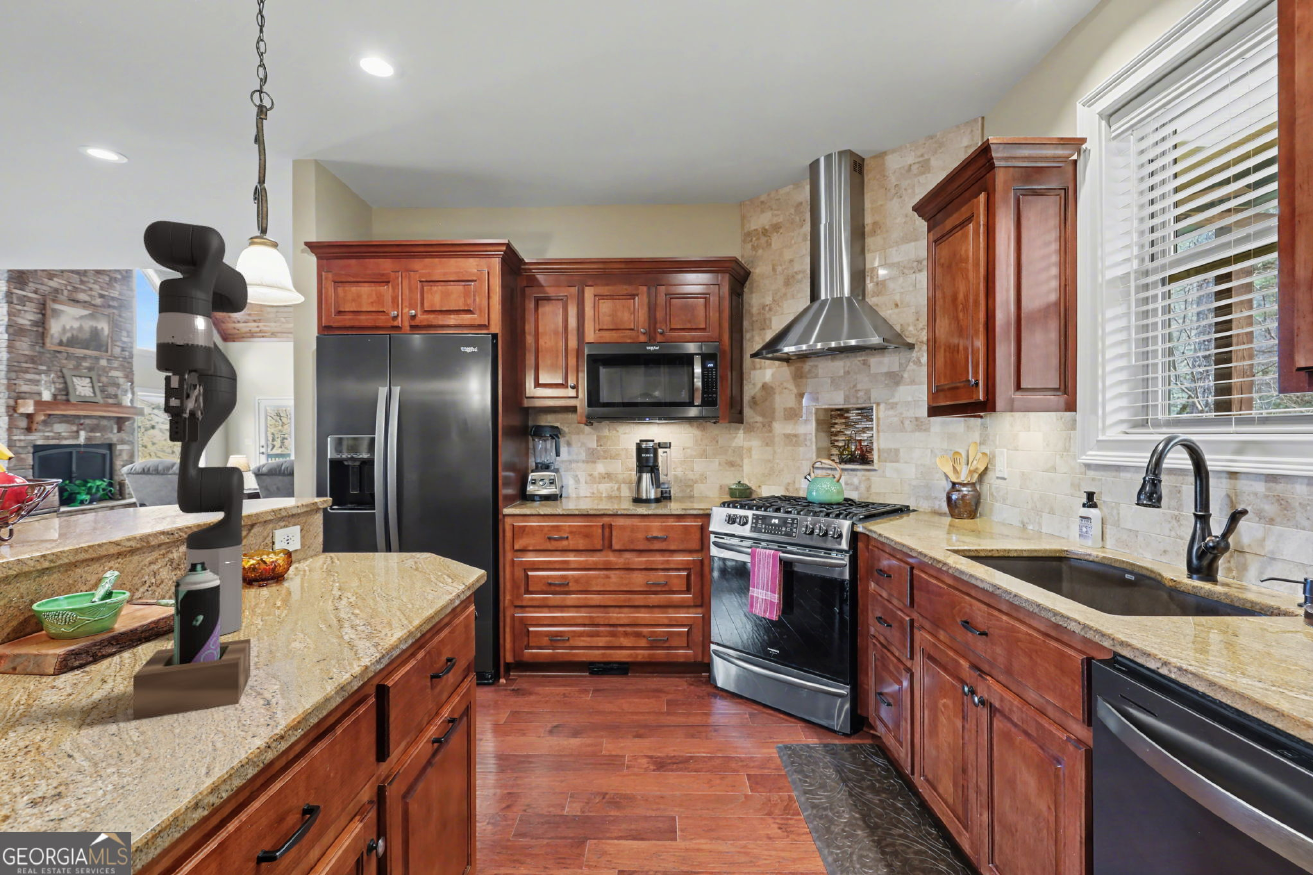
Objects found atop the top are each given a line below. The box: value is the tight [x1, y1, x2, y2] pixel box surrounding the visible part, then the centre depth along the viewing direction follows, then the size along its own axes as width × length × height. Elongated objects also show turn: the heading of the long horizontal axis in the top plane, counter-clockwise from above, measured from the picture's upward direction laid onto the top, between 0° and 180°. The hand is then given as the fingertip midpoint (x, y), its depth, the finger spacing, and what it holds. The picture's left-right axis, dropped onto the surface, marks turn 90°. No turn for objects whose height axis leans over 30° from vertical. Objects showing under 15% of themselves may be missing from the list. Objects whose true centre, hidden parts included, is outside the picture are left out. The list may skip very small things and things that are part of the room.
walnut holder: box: [132, 638, 251, 721], centre depth 92 cm, size 12×12×6 cm
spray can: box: [173, 562, 221, 665], centre depth 92 cm, size 6×6×20 cm
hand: (184, 442), depth 101 cm, fingers open, 8 cm apart
